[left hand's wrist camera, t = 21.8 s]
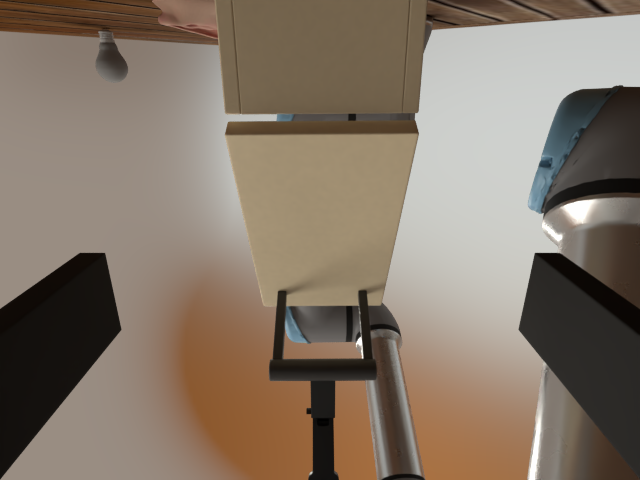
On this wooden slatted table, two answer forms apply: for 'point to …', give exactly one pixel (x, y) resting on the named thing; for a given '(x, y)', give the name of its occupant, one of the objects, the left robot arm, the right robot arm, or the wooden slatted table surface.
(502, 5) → the wooden slatted table surface
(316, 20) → the chest
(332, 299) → the lid
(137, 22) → the wooden slatted table surface
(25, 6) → the wooden slatted table surface
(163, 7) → the anatomical model
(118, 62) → the light bulb
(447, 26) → the wooden slatted table surface
